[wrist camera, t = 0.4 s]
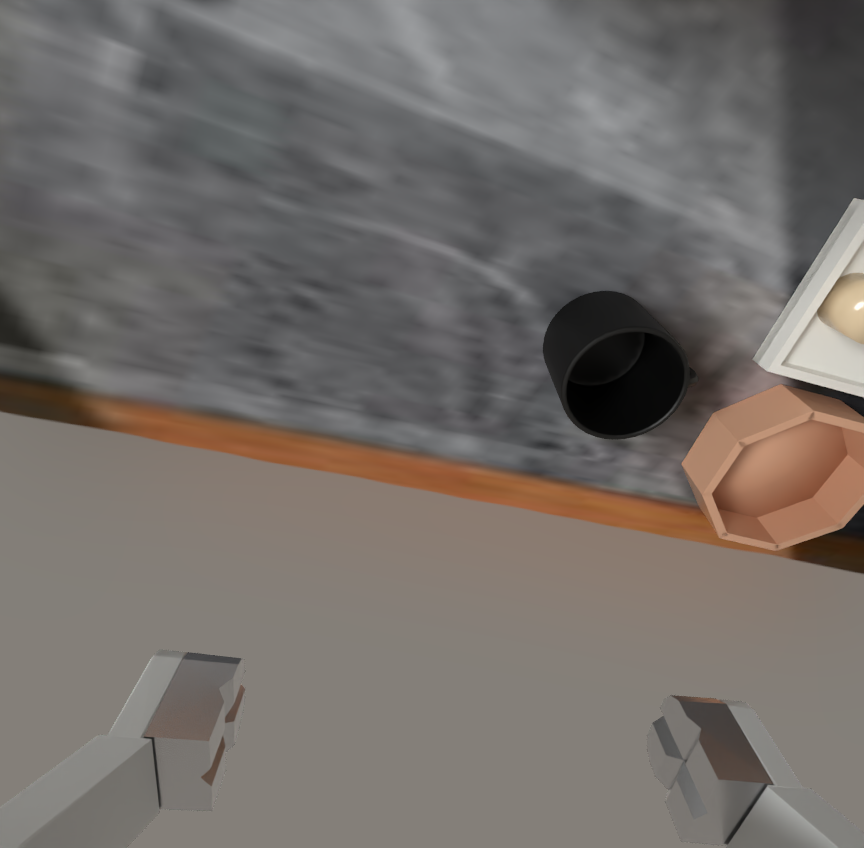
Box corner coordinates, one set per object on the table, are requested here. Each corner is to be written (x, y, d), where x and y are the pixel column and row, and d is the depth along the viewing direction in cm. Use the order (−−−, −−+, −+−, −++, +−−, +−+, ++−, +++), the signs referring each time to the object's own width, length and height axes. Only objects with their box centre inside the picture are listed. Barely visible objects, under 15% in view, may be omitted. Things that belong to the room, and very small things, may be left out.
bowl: (738, 372, 48) (766, 398, 44) (880, 410, 50) (921, 438, 46) (660, 496, 56) (678, 529, 51) (786, 526, 57) (814, 559, 53)
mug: (654, 398, 50) (693, 452, 42) (531, 381, 49) (547, 431, 41) (694, 302, 45) (746, 342, 37) (558, 281, 44) (582, 317, 37)
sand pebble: (840, 265, 42) (875, 279, 39) (889, 280, 43) (928, 295, 39) (805, 319, 44) (835, 336, 41) (852, 332, 45) (886, 351, 42)
